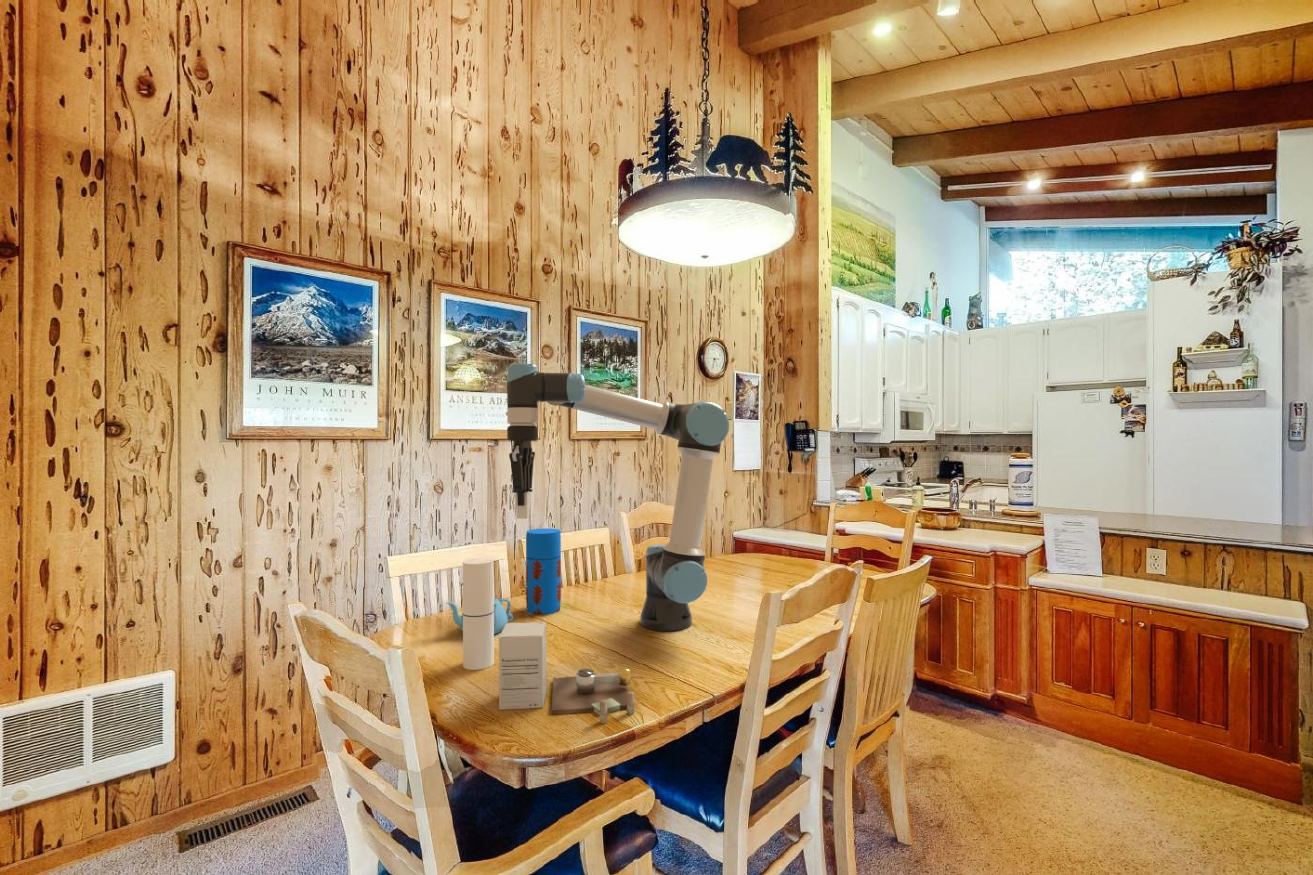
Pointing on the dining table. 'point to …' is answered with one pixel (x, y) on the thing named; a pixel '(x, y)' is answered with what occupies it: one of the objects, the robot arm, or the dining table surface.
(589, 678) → the crank handle
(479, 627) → the cylindrical container
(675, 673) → the dining table surface
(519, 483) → the robot arm
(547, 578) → the thermos
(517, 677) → the supplement box
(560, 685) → the dial board
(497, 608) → the teapot
